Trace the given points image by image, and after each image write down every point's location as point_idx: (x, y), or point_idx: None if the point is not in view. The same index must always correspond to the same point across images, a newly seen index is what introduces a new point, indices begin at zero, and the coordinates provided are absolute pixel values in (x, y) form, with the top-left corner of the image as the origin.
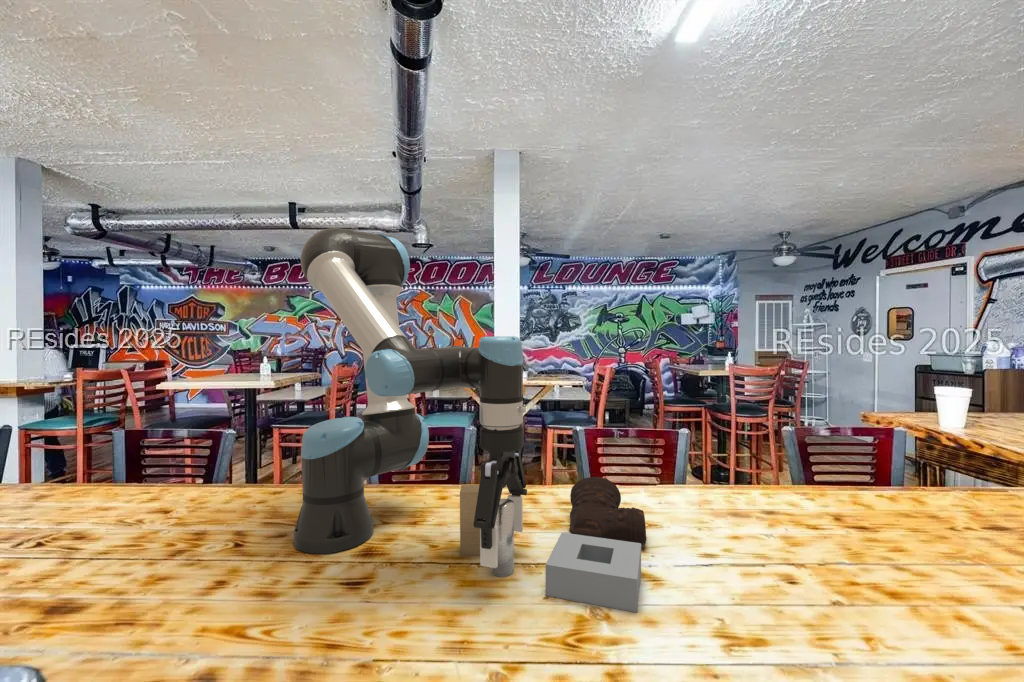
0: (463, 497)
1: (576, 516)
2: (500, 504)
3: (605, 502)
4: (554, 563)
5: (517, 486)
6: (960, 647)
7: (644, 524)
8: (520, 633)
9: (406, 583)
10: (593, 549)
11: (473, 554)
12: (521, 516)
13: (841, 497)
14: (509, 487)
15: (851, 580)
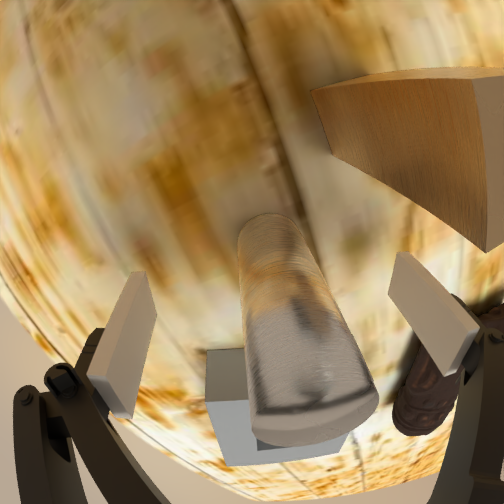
0: (449, 107)
1: None
2: (289, 425)
3: None
4: (218, 410)
5: (455, 419)
6: (269, 497)
7: (403, 433)
8: None
9: (107, 35)
10: None
11: (326, 130)
12: (412, 326)
13: None
14: (478, 378)
15: (338, 479)
